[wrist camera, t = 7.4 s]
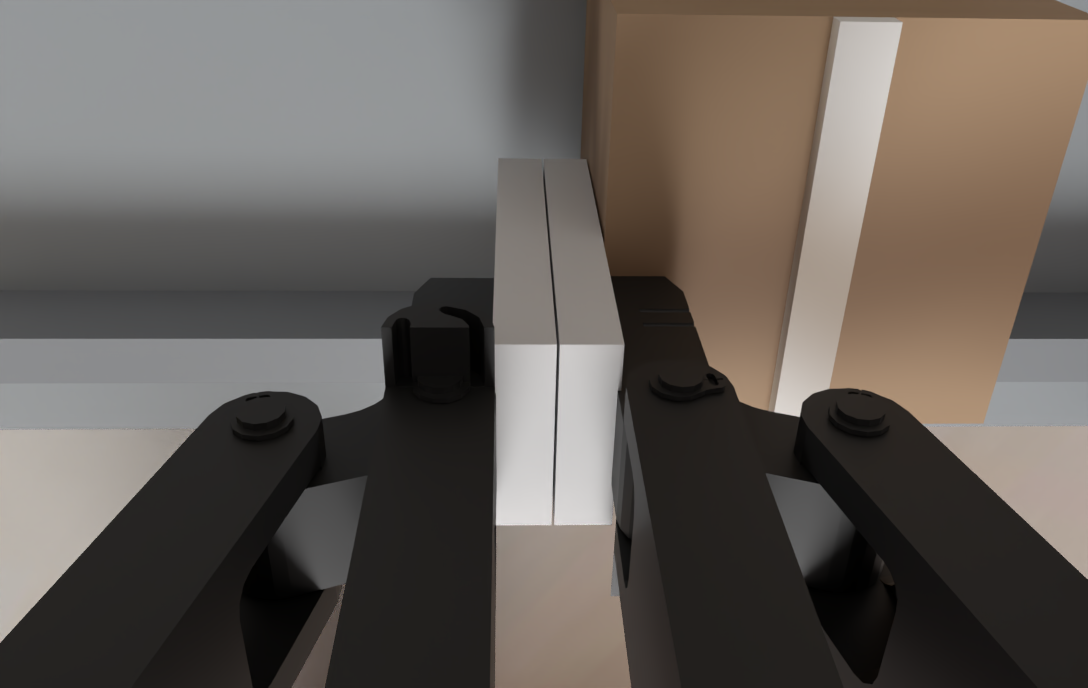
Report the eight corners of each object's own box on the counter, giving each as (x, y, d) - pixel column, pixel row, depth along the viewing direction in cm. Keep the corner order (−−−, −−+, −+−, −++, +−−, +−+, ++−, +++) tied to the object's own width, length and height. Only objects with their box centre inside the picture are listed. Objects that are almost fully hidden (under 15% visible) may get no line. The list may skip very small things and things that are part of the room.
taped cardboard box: (588, -46, 17) (619, 18, 12) (952, -41, 17) (1118, 24, 12) (575, 284, 20) (595, 435, 15) (880, 285, 20) (990, 433, 15)
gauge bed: (-233, -326, 15) (-730, -400, 9) (1442, -282, 17) (2006, -323, 10) (0, 400, 22) (-194, 634, 16) (1162, 397, 24) (1396, 616, 17)
